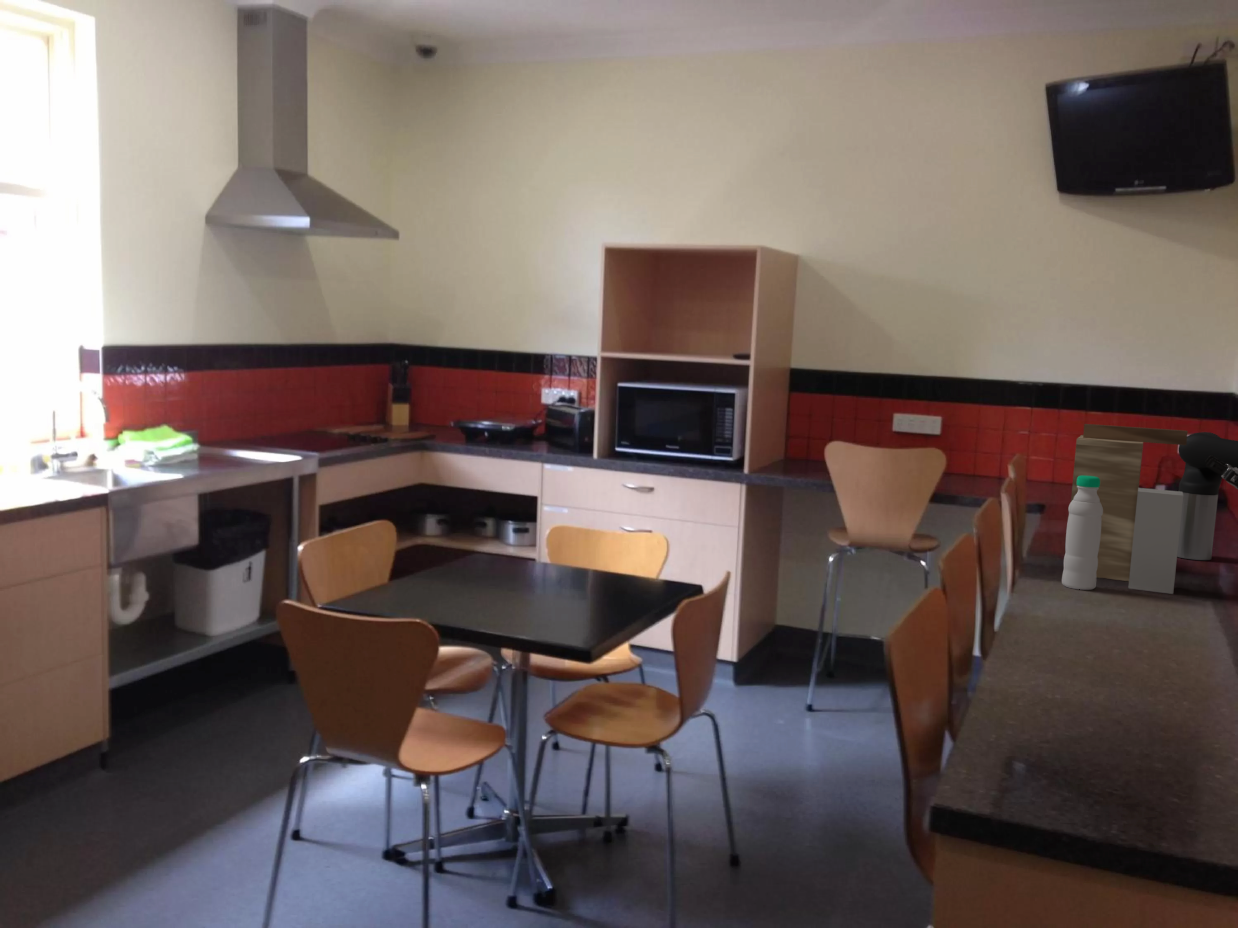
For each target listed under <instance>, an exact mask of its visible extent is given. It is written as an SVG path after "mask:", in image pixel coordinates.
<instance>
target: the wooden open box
mask: <svg viewBox="0 0 1238 928" xmlns="http://www.w3.org/2000/svg"><path fill="white" fill-rule="evenodd" d="M1143 449H1144V442H1135V441H1121V440H1107V439H1093V438H1083V434H1081V435H1080V436H1078V437H1077V438H1076V442H1075V454H1074V464H1073V465H1074V466H1073V473H1072V486H1071V497H1070V503H1071V502H1072V500H1074V496H1075V495H1076V494H1077V492H1078V488H1077V477H1078V476H1081V475H1086V476H1095V477H1098V478H1099V479H1100V486H1099V487H1098V488H1099V489H1098V490H1097V495H1098V497H1099V499H1100V503H1101V505H1102V508H1103V514H1102V516H1101V536H1100V545H1099V552H1098V556H1097V557H1098V567H1097V571H1096V578H1099V579H1108V580H1116V581H1123V582H1124V581H1125V582H1129V576H1130V566H1131V556H1132V546H1133V536H1134V525H1135V515H1136V505H1137V495H1138V488H1140V482H1141V481H1140V479H1141V471H1142V469H1141V468H1142V460H1143V459H1142V458H1143V452H1144V451H1143Z"/></svg>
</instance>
